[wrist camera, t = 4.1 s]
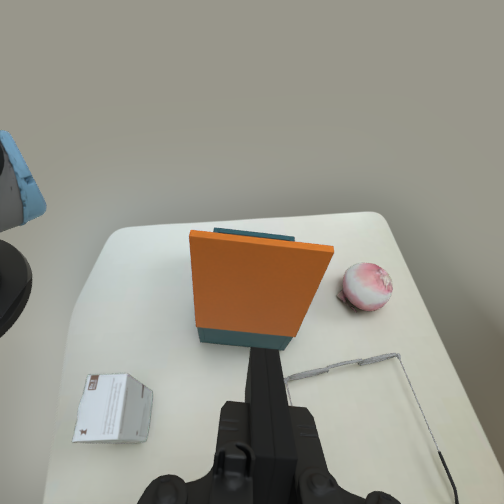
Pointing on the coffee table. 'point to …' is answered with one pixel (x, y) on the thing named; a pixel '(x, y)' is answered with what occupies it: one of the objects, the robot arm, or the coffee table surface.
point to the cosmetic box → (113, 410)
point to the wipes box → (237, 336)
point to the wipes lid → (254, 281)
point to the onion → (366, 287)
